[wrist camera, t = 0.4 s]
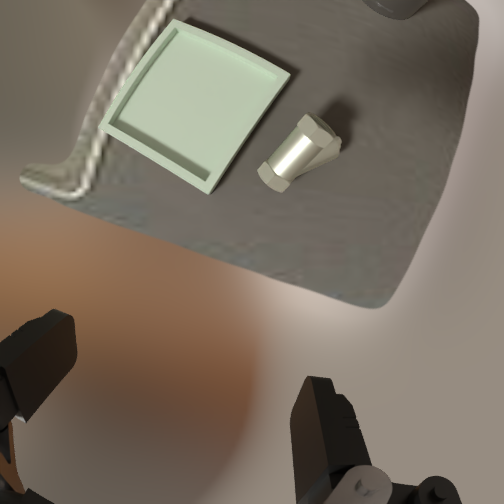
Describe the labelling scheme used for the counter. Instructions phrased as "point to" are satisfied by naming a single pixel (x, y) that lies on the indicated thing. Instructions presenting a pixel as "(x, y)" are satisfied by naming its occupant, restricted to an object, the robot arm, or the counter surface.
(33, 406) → the robot arm
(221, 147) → the tray
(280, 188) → the pipe fitting
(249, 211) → the counter surface
